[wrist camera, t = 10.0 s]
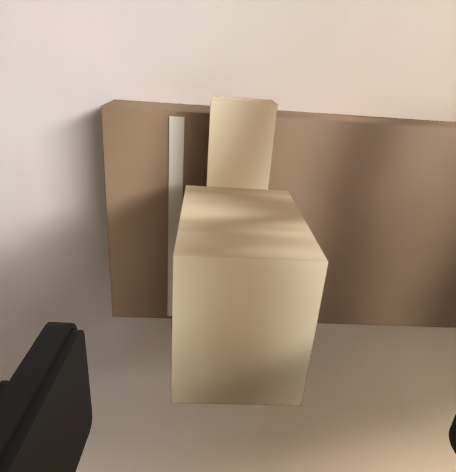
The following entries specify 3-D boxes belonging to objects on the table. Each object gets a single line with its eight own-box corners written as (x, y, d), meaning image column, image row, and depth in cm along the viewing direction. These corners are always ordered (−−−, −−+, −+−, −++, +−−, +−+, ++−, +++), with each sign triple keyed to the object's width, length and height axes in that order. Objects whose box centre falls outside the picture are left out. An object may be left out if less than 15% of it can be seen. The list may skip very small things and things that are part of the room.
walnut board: (592, 131, 20) (644, 141, 18) (519, 304, 24) (553, 331, 22) (114, 99, 19) (100, 106, 16) (122, 289, 23) (112, 317, 20)
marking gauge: (282, 95, 18) (351, 137, 9) (253, 346, 24) (279, 523, 15) (192, 89, 18) (175, 126, 9) (184, 344, 24) (169, 523, 15)
